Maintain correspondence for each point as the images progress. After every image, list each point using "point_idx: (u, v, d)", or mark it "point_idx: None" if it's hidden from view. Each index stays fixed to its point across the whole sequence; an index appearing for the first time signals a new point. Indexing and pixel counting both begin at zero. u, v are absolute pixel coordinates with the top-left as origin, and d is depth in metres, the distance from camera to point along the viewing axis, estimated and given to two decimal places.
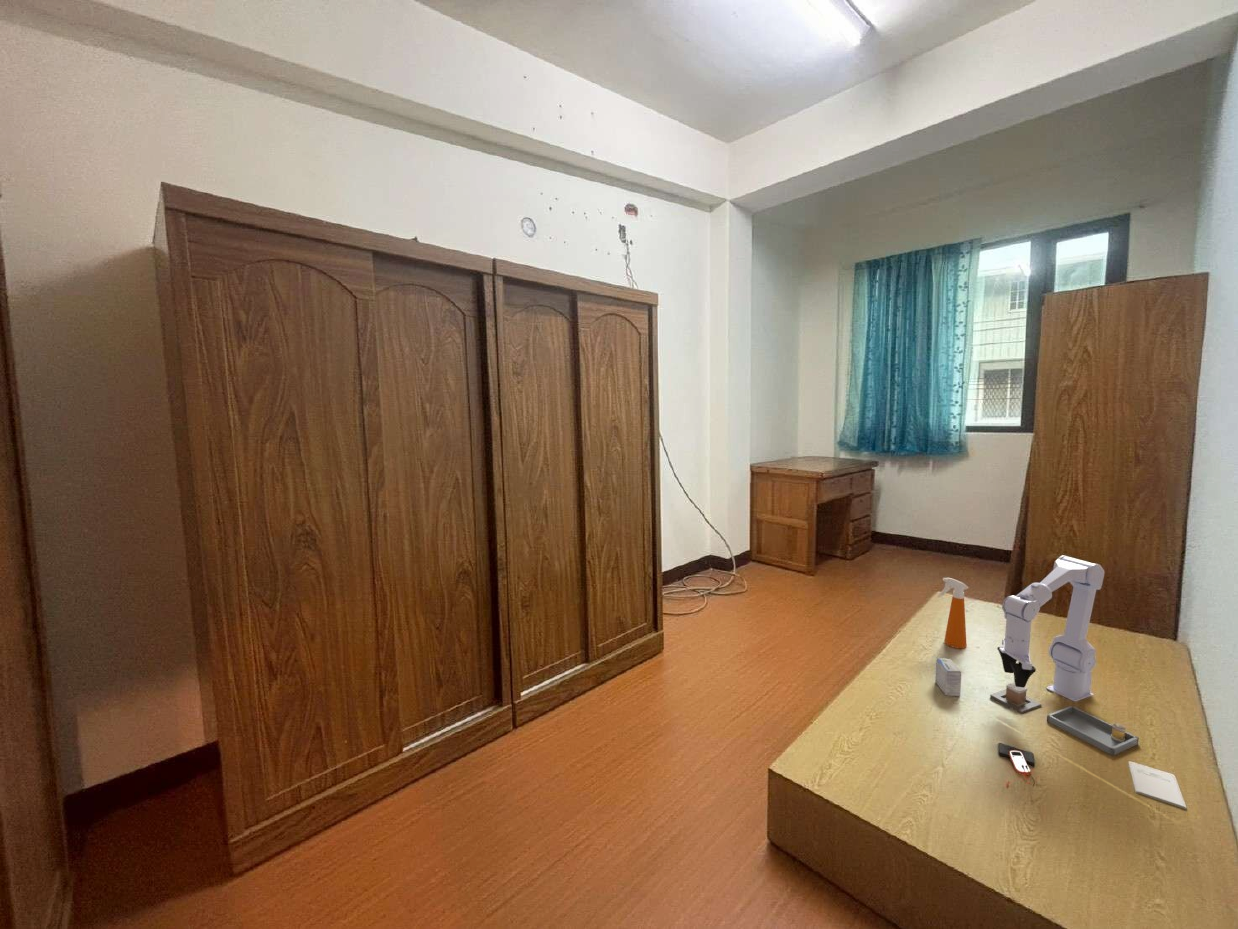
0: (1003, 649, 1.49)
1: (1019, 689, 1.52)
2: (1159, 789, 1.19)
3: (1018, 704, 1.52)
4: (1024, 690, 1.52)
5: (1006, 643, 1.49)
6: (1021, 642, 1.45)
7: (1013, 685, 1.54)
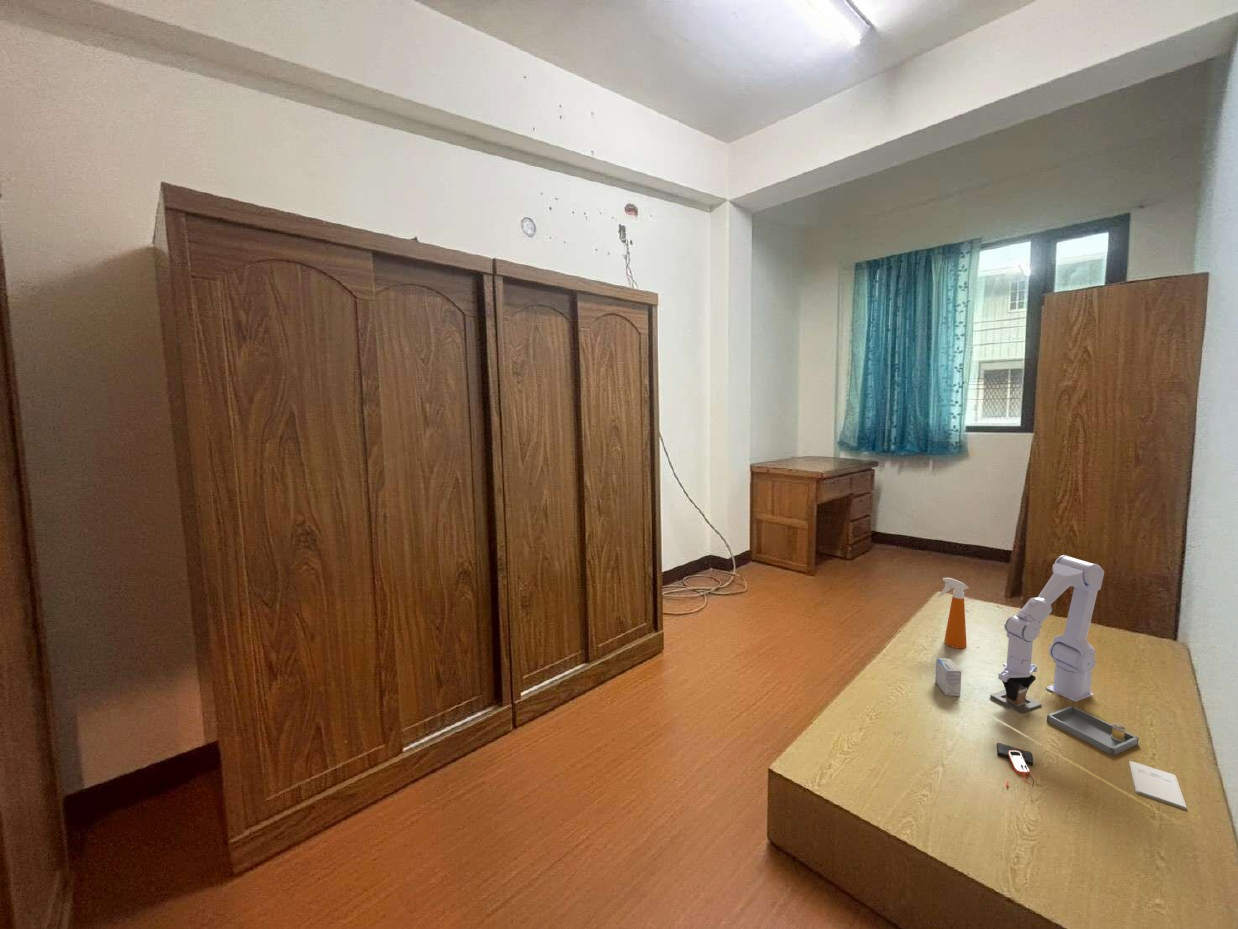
0: (1006, 664, 1.56)
1: (1019, 689, 1.52)
2: (1159, 789, 1.19)
3: (1018, 704, 1.52)
4: (1024, 690, 1.52)
5: None
6: (1012, 659, 1.51)
7: None
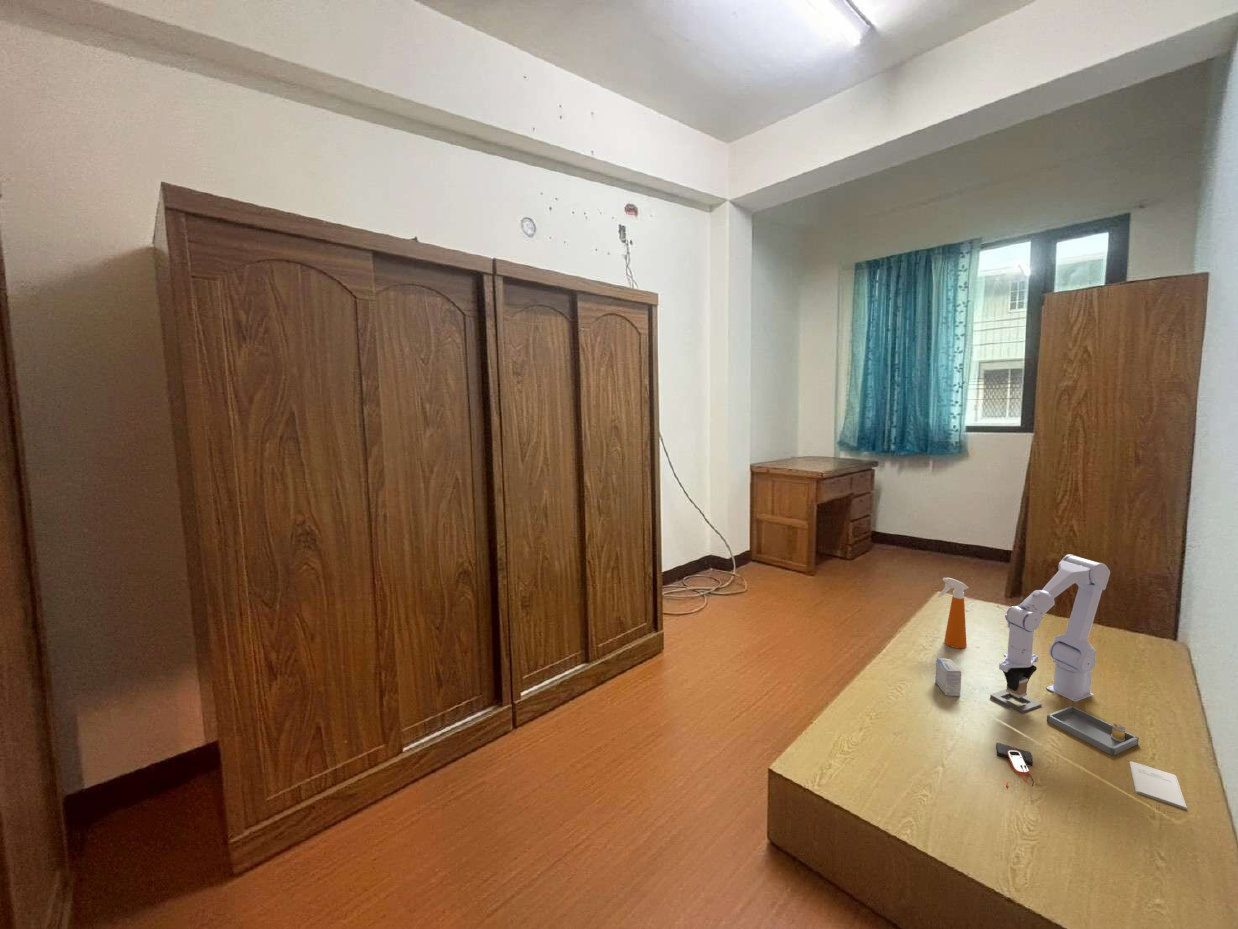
0: (1007, 654, 1.56)
1: (1020, 679, 1.52)
2: (1159, 789, 1.19)
3: (1019, 694, 1.52)
4: (1025, 680, 1.52)
5: None
6: (1013, 649, 1.51)
7: None
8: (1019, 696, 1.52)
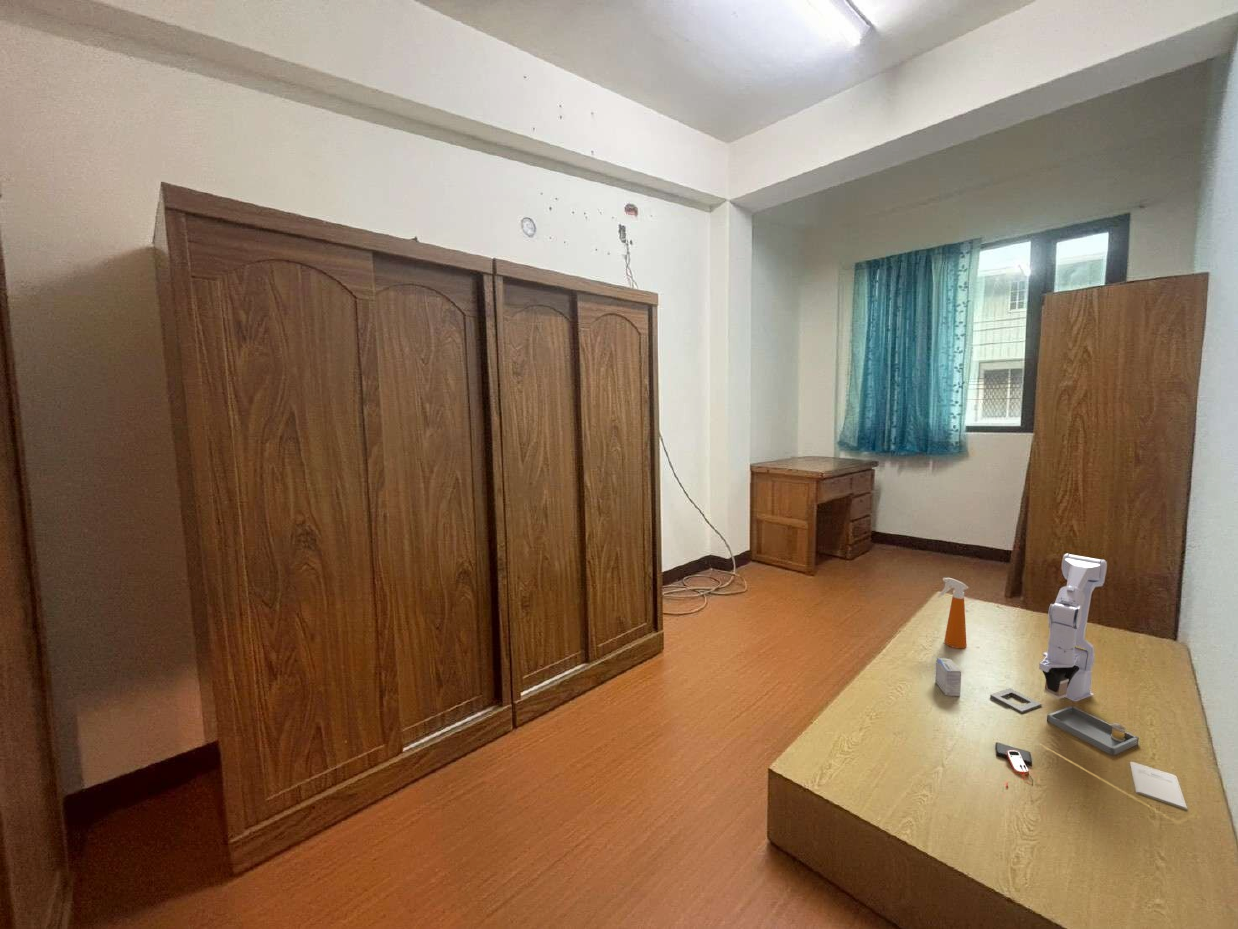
0: (1047, 653, 1.47)
1: None
2: (1160, 789, 1.19)
3: (1058, 695, 1.44)
4: (1065, 681, 1.44)
5: None
6: (1054, 647, 1.43)
7: None
8: (1058, 697, 1.44)
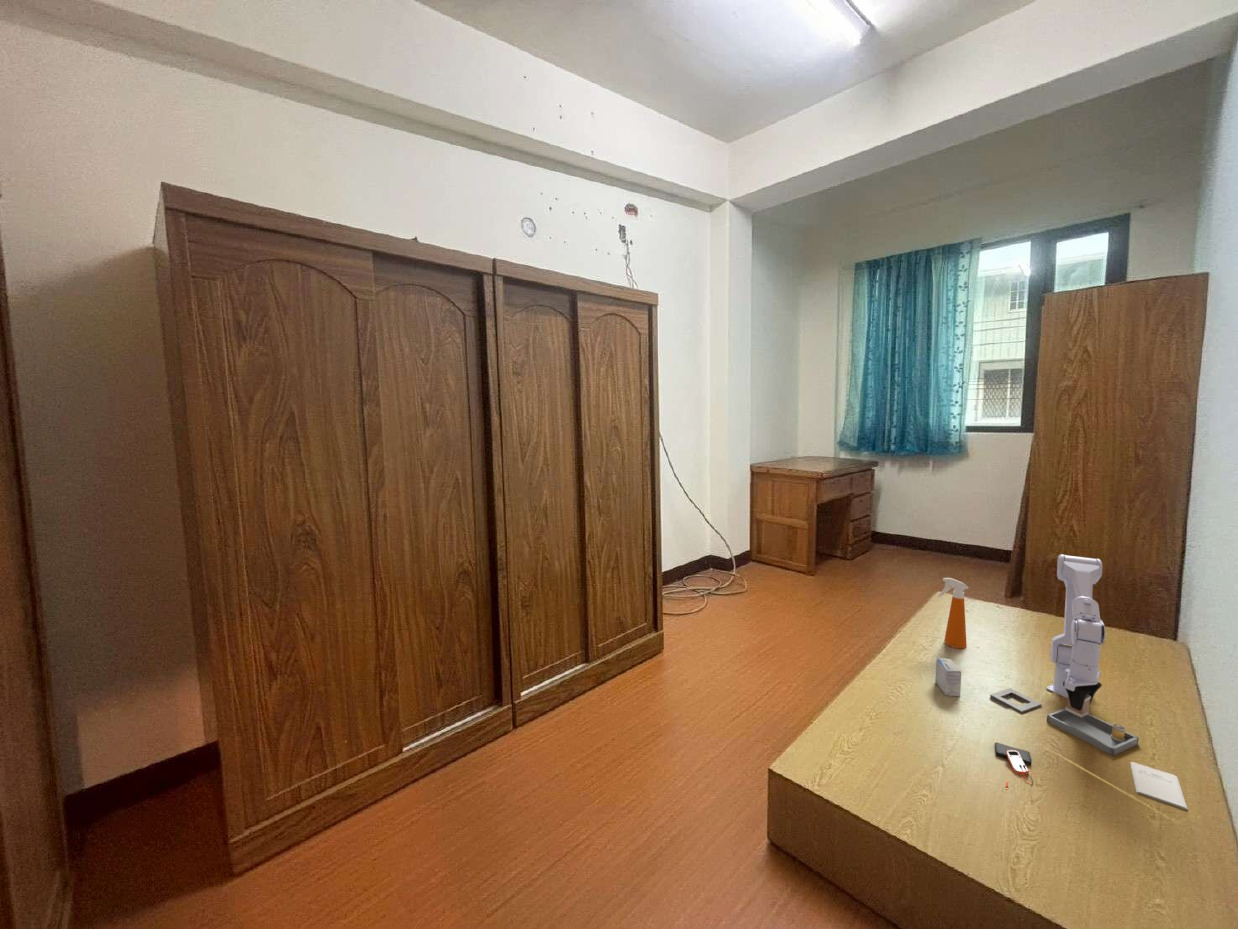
0: (1068, 670, 1.44)
1: None
2: (1160, 789, 1.19)
3: (1082, 713, 1.40)
4: (1088, 698, 1.40)
5: None
6: (1078, 665, 1.39)
7: None
8: (1082, 715, 1.40)
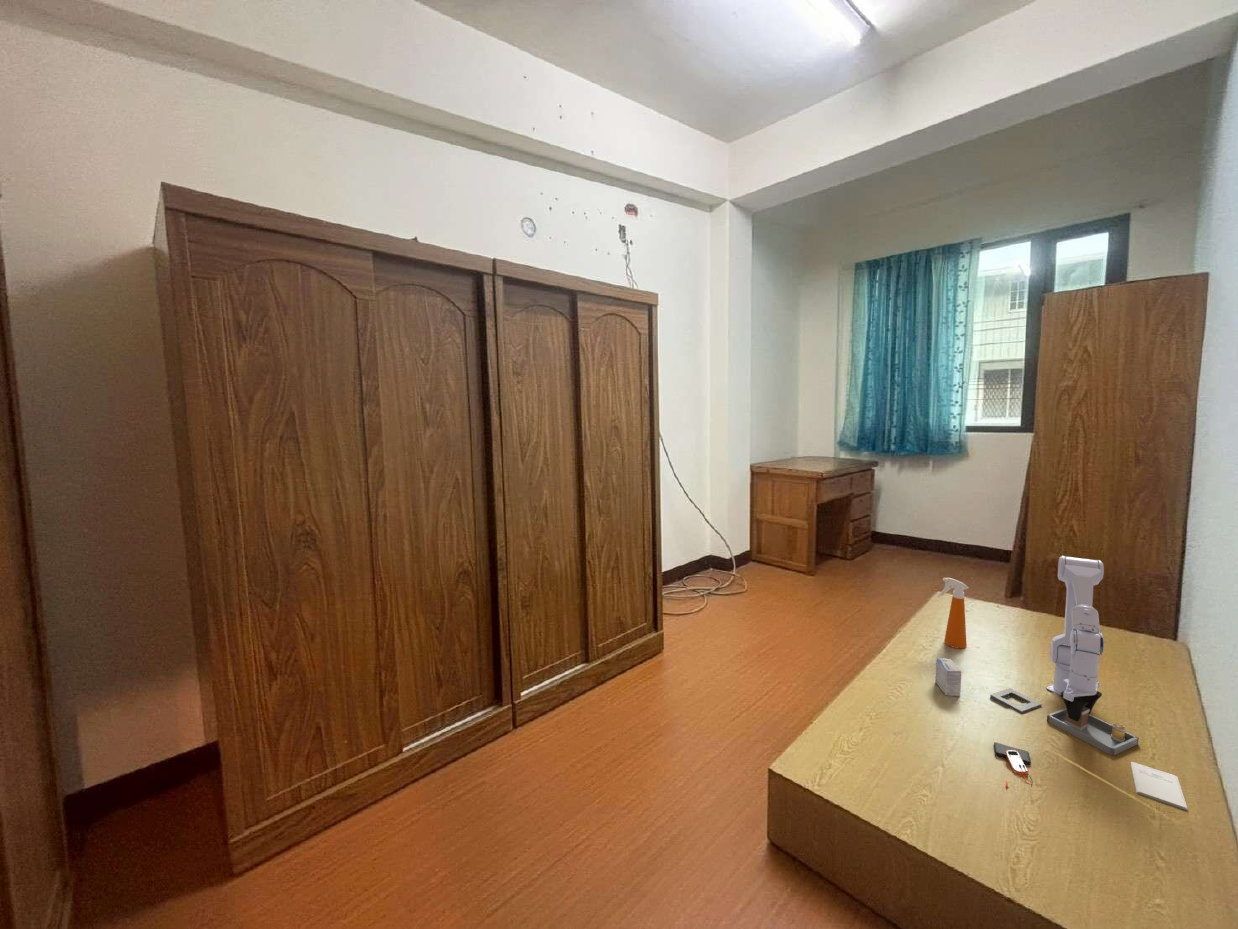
0: (1067, 680, 1.44)
1: None
2: (1160, 790, 1.19)
3: (1081, 726, 1.41)
4: (1087, 711, 1.41)
5: None
6: (1077, 675, 1.39)
7: None
8: (1081, 728, 1.41)
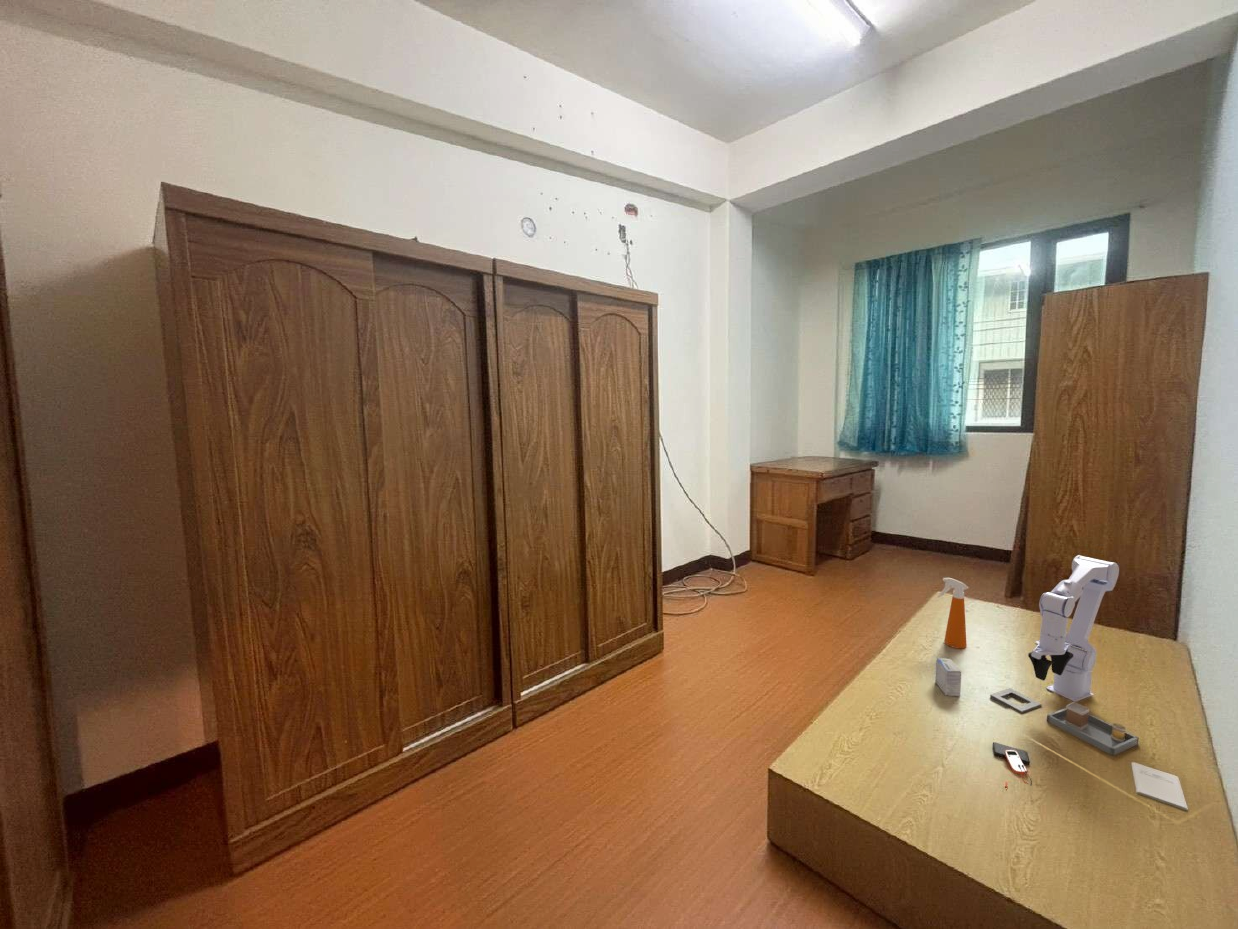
0: (1039, 642, 1.52)
1: (1082, 710, 1.41)
2: (1161, 790, 1.19)
3: (1081, 726, 1.41)
4: (1087, 711, 1.41)
5: None
6: (1046, 636, 1.48)
7: (1074, 706, 1.43)
8: (1081, 728, 1.41)
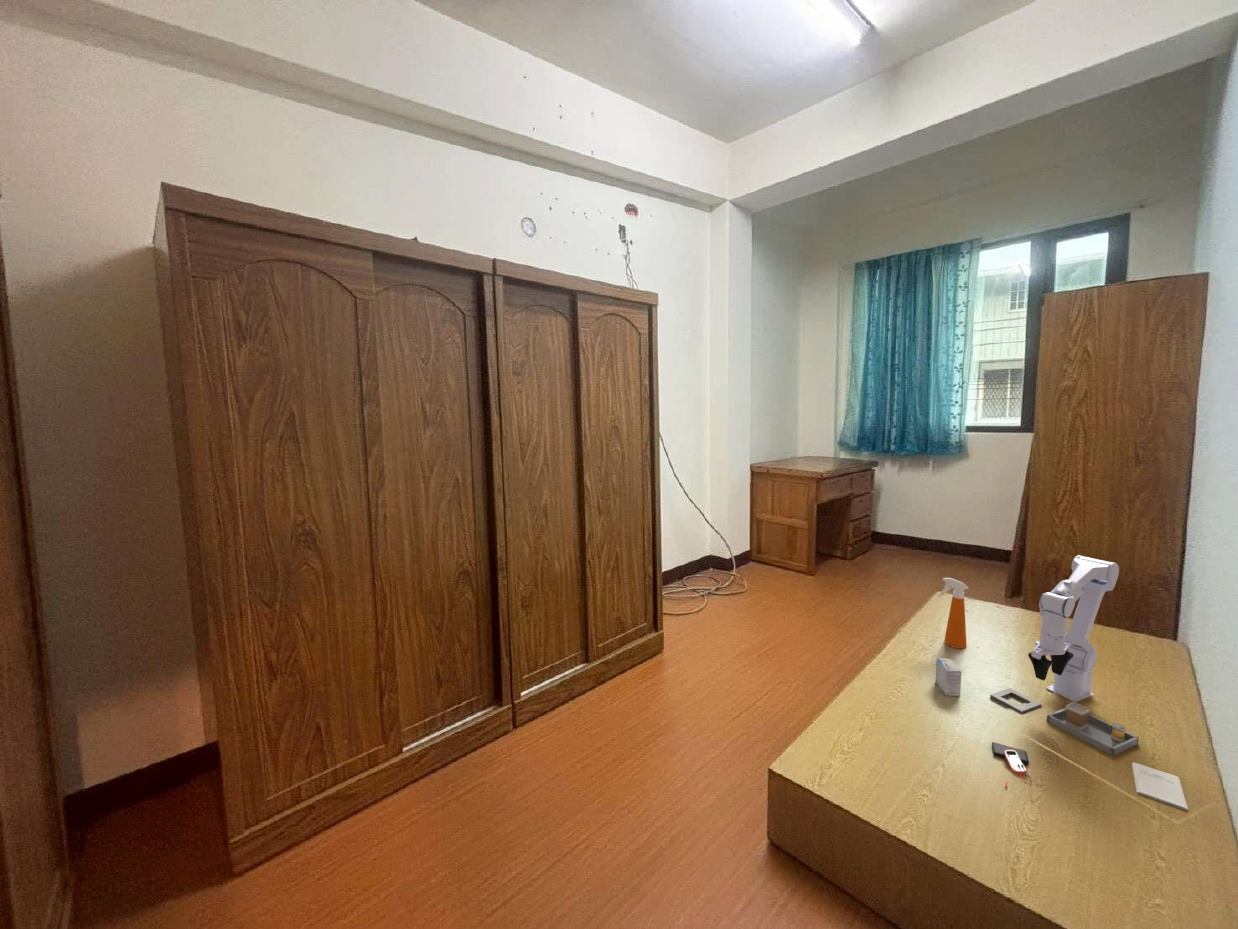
0: (1039, 642, 1.52)
1: (1082, 710, 1.41)
2: (1161, 790, 1.19)
3: (1081, 726, 1.41)
4: (1087, 711, 1.41)
5: None
6: (1046, 636, 1.48)
7: (1074, 706, 1.43)
8: (1081, 728, 1.41)
